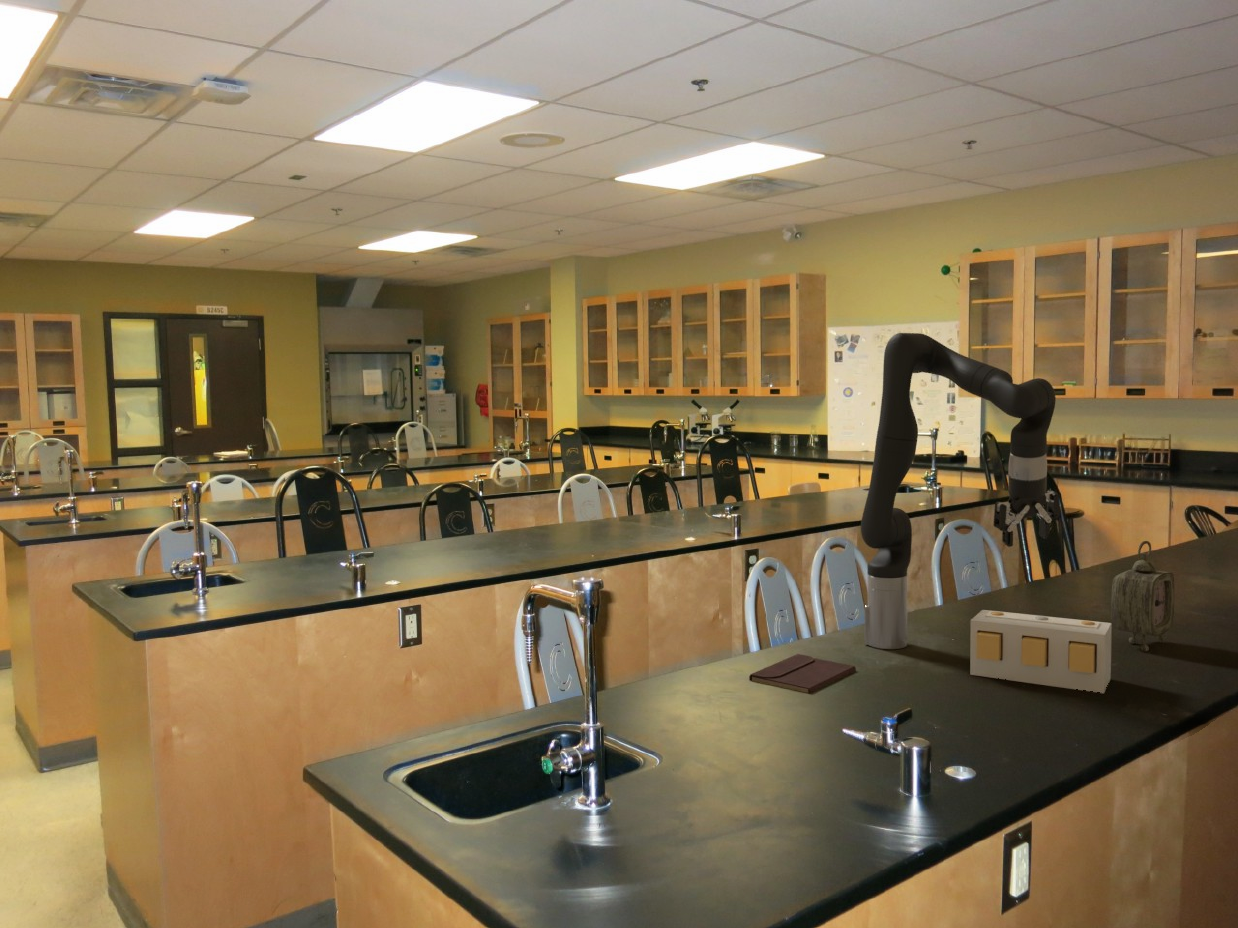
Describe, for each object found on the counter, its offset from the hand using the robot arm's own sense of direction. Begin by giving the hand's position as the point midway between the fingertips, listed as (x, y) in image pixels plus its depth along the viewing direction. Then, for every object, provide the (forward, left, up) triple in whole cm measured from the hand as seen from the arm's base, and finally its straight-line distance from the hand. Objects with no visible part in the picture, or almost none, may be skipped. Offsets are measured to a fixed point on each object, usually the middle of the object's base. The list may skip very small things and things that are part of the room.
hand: (1025, 541), depth 208 cm
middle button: (+4, -11, -24) cm, 27 cm away
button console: (+4, -5, -28) cm, 29 cm away
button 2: (+13, -11, -24) cm, 29 cm away
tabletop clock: (+20, +33, -28) cm, 48 cm away
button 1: (-5, -11, -24) cm, 27 cm away
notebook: (-40, -28, -29) cm, 57 cm away
